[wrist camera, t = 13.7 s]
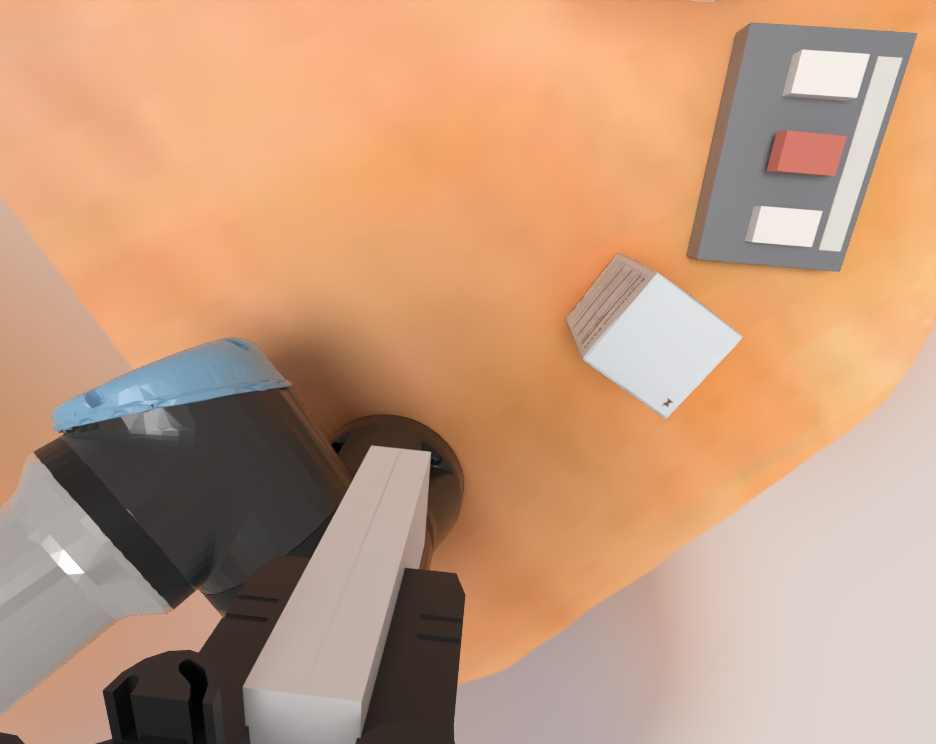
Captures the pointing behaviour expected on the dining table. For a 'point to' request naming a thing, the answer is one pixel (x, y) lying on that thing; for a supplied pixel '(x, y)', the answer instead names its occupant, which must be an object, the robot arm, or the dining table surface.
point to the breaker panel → (805, 110)
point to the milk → (705, 1)
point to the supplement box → (648, 334)
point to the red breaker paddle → (806, 153)
